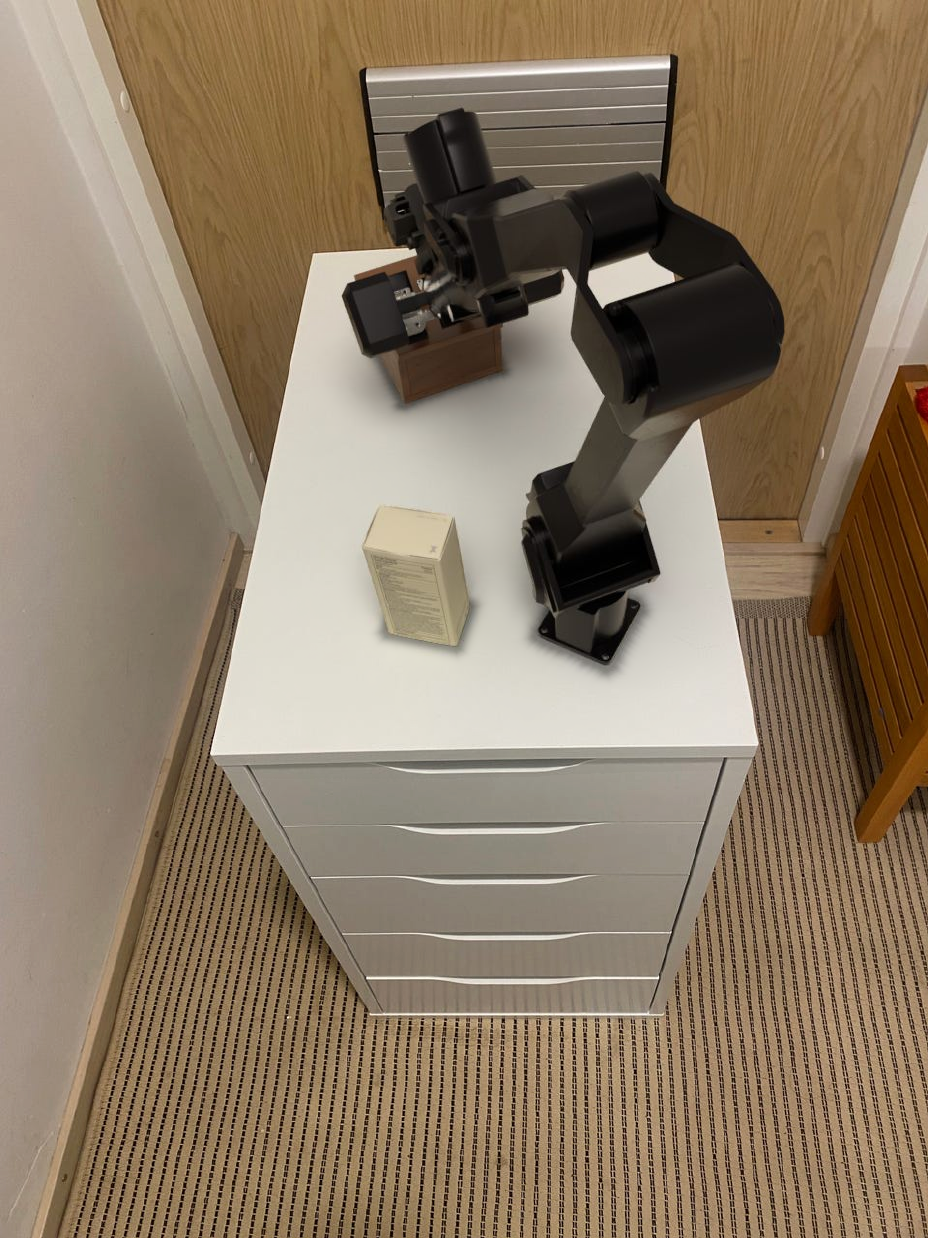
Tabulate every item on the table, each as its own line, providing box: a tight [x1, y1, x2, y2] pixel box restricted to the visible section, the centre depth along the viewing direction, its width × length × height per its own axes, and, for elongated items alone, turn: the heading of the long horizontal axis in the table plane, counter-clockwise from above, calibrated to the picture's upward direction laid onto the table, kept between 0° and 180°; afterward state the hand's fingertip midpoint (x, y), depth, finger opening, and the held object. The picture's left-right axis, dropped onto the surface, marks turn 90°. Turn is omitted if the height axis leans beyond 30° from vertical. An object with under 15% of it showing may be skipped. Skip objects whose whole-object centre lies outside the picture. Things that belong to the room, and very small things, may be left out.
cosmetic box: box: [361, 504, 471, 647], centre depth 74 cm, size 6×4×12 cm
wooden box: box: [378, 328, 504, 404], centre depth 95 cm, size 13×11×6 cm
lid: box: [353, 254, 504, 362], centre depth 91 cm, size 13×11×5 cm
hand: (437, 306), depth 90 cm, fingers closed on lid, 5 cm apart
